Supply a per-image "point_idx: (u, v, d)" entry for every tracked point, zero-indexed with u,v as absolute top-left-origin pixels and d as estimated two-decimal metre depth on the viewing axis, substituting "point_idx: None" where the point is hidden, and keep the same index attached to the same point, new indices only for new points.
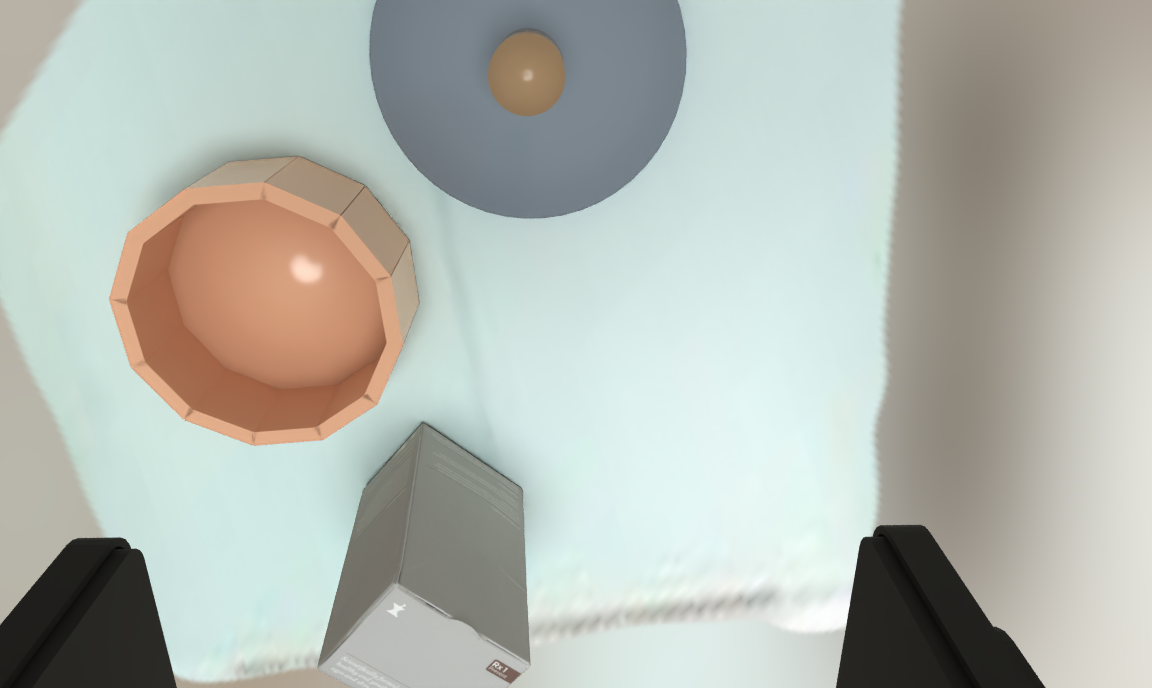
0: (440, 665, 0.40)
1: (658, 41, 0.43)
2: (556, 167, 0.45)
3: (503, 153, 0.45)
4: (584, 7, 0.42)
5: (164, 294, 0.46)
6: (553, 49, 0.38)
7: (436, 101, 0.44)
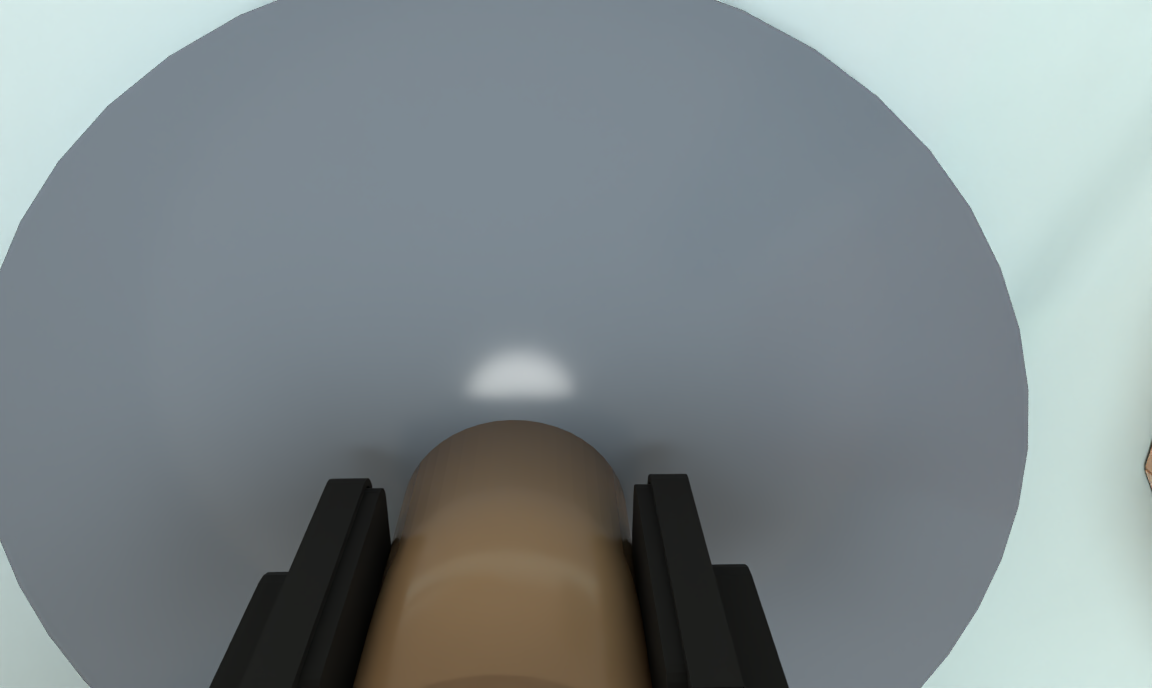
0: None
1: (83, 365, 0.12)
2: (638, 197, 0.11)
3: (766, 344, 0.12)
4: (274, 557, 0.14)
5: None
6: None
7: (819, 572, 0.14)
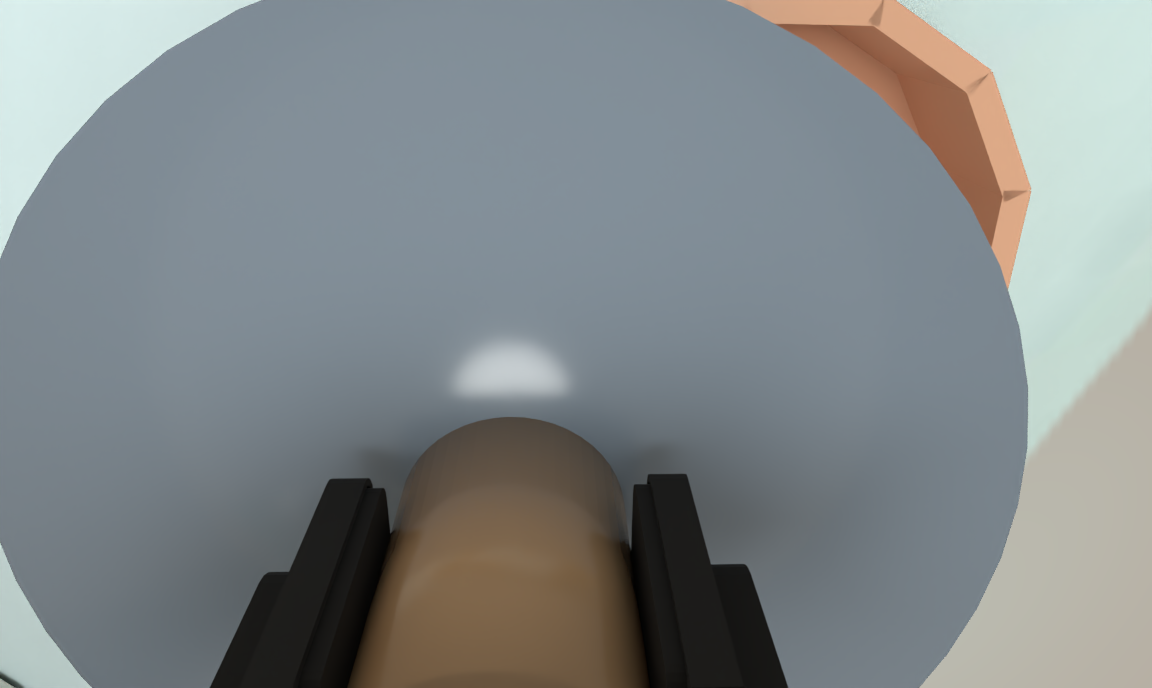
0: None
1: (80, 360, 0.12)
2: (636, 194, 0.11)
3: (765, 341, 0.12)
4: (272, 554, 0.14)
5: None
6: None
7: (818, 571, 0.14)
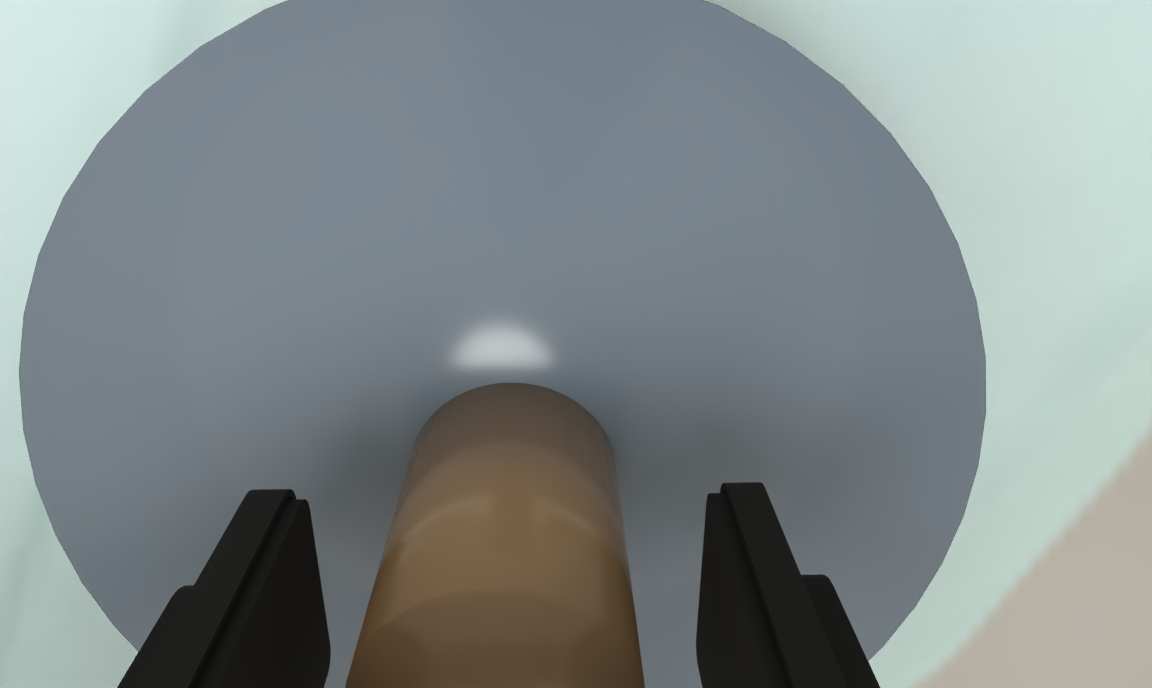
0: None
1: (118, 330, 0.13)
2: (625, 176, 0.12)
3: (743, 313, 0.13)
4: None
5: None
6: None
7: (795, 528, 0.15)
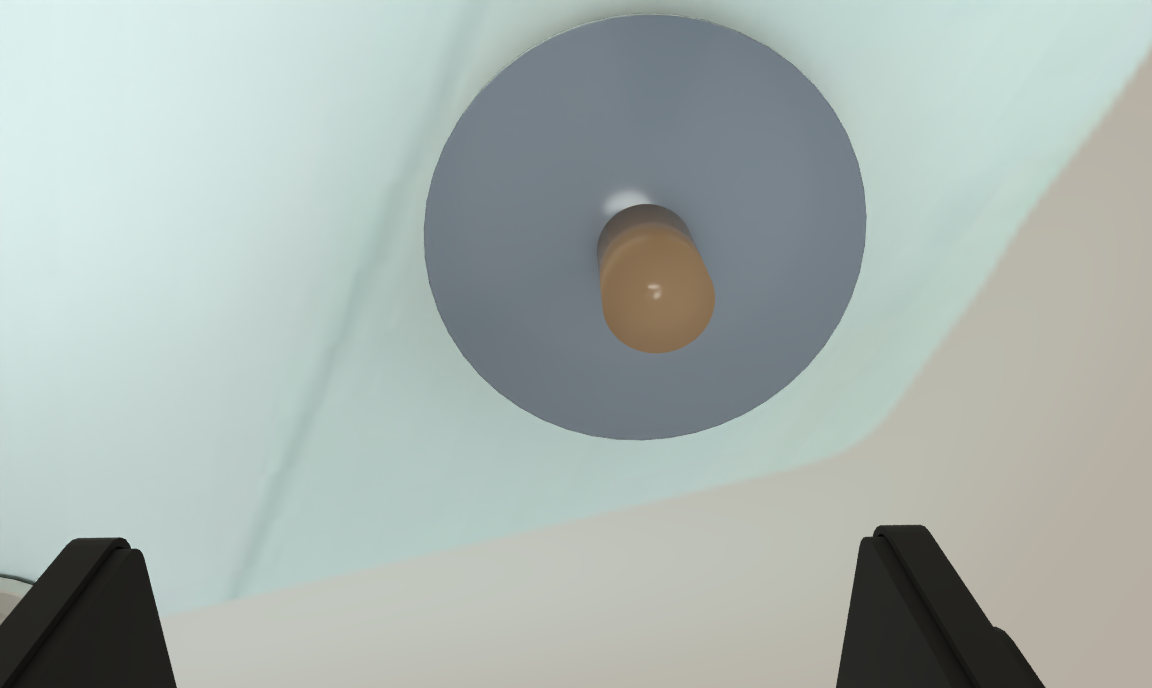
0: None
1: (473, 180, 0.30)
2: (700, 106, 0.29)
3: (752, 169, 0.30)
4: (540, 270, 0.31)
5: None
6: (604, 311, 0.27)
7: (778, 278, 0.31)
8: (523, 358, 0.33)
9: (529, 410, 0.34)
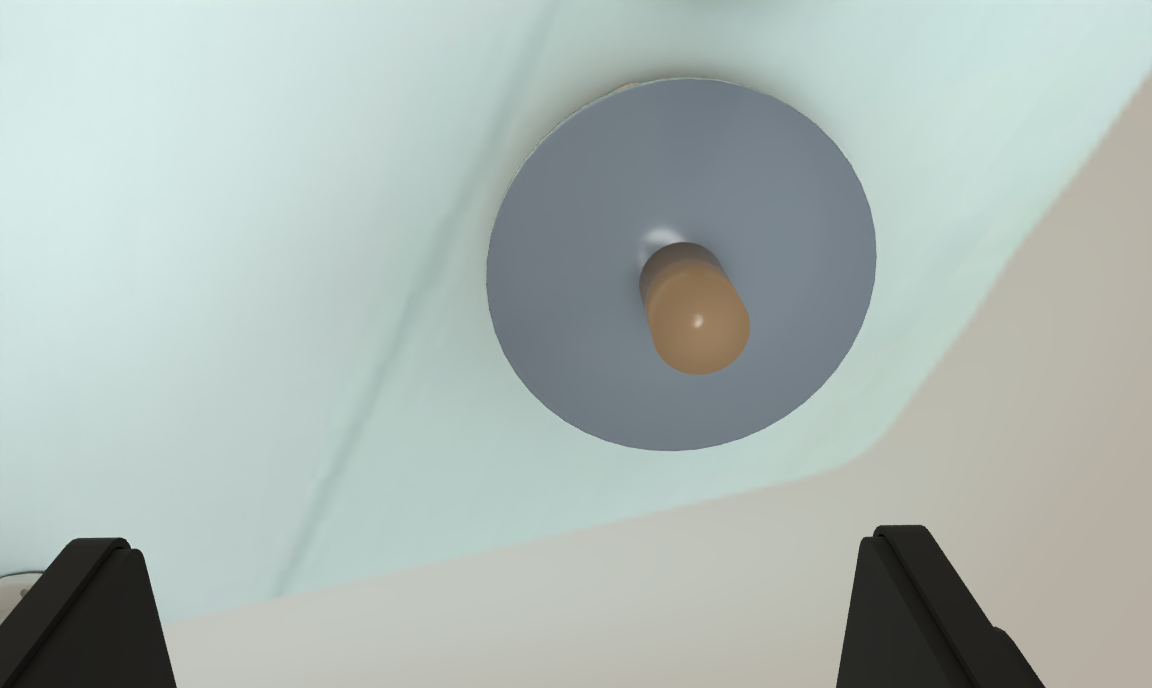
0: None
1: (533, 219, 0.34)
2: (734, 158, 0.33)
3: (777, 213, 0.34)
4: (588, 299, 0.35)
5: None
6: (654, 337, 0.31)
7: (797, 309, 0.36)
8: (569, 377, 0.37)
9: (572, 423, 0.38)
